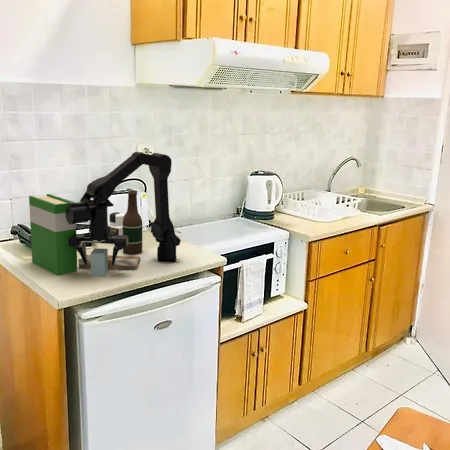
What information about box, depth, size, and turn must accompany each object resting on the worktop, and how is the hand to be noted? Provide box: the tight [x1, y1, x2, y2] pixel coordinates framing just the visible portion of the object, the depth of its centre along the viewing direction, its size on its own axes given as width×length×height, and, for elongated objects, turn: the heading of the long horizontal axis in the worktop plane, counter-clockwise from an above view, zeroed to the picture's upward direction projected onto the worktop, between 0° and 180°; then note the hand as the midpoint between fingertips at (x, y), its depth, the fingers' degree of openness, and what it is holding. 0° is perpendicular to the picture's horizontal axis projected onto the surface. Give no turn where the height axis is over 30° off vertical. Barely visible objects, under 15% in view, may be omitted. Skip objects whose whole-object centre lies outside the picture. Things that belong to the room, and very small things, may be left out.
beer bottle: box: [122, 190, 143, 256], centre depth 195 cm, size 8×8×24 cm
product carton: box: [90, 247, 109, 278], centre depth 172 cm, size 5×6×8 cm
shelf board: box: [77, 254, 141, 271], centre depth 182 cm, size 20×11×4 cm, turn 93°
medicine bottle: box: [108, 212, 125, 238], centre depth 209 cm, size 7×7×12 cm
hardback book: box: [28, 193, 78, 276], centre depth 175 cm, size 18×7×24 cm, turn 46°
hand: (99, 265), depth 172 cm, fingers open, 9 cm apart
